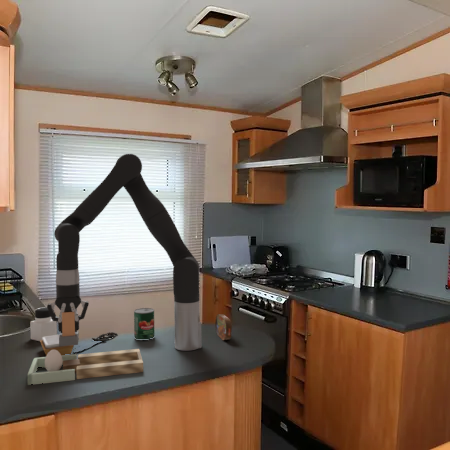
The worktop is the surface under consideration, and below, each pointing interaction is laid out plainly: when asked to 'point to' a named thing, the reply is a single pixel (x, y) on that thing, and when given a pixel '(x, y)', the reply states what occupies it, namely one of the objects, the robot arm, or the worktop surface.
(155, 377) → the worktop surface
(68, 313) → the tan block grey base
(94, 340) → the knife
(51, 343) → the soap dish
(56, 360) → the egg
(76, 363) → the chip block
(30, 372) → the tray
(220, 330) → the tin
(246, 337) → the worktop surface
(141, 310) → the canned tomato
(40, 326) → the medicine bottle
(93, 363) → the shallow wooden box
